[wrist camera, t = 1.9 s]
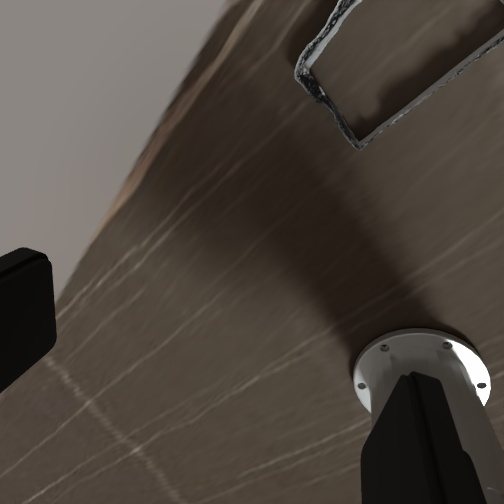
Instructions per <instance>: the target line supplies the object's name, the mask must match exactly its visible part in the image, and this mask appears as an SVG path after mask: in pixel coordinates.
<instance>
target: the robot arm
mask: <svg viewBox="0 0 504 504" xmlns="http://www.w3.org/2000/svg"><path fill="white" fill-rule="evenodd" d="M56 339H57V333H56V319H55V304H54V290H53V275H52V265H51V262H50V261H49V260H48V257H47V256H46V254H43V253H41V252H38V251H35V250H32V249H29V248H23V247H22V248H18V249H17V250H14V251H12V252H10V253H8V254H5V255H3V256H1V257H0V393H1V392H2V391H4V390H5V389H6V388H7V387H8V386H9V385H11V384H12V383H13V382H14V381H15V380H16V379H18V378H19V377H20V376H21V375H22V374H23V373H25V372H26V371H27V370H28V369H29V368H30V367H32V366H33V365H34V364H35V363H36V362H37V361H39V360H40V359H41V358H42V357H43V356H44V355H46V354H47V353H48V352H49V351H50V350H51V349H52V348H53V346H54V345H55V343H56ZM353 381H354V388H355V391H356V394H357V397H358V398H359V400H360V401H361V403H362V404H363V405H364V407H365V408H366V409H367V410H368V411H369V412H370V413H371V418H372V431H371V433H370V435H369V437H368V439H367V440H366V442H365V444H364V446H363V449H362V453H361V491H362V504H504V451H503V449H502V447H501V445H500V442H499V440H498V438H497V435H496V433H495V431H494V428H493V426H492V424H491V422H490V419H489V417H488V415H487V412H486V410H485V408H484V405H485V403H486V401H487V399H488V398H489V394H490V389H491V381H490V375H489V372H488V370H487V367H486V365H485V363H484V362H483V360H482V358H481V356H480V355H479V354H478V353H477V352H476V351H475V349H474V348H473V347H471V346H470V345H469V344H467V343H466V342H465V341H463V340H461V339H459V338H458V337H456V336H454V335H451V334H448V333H445V332H442V331H439V330H433V329H427V328H409V329H401V330H397V331H393V332H390V333H387V334H384V335H382V336H380V337H378V338H376V339H375V340H373V341H372V342H371V343H369V344H368V345H367V346H366V347H365V348H364V349H363V350H362V351H361V353H360V354H359V356H358V358H357V360H356V362H355V366H354V372H353Z"/></svg>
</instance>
